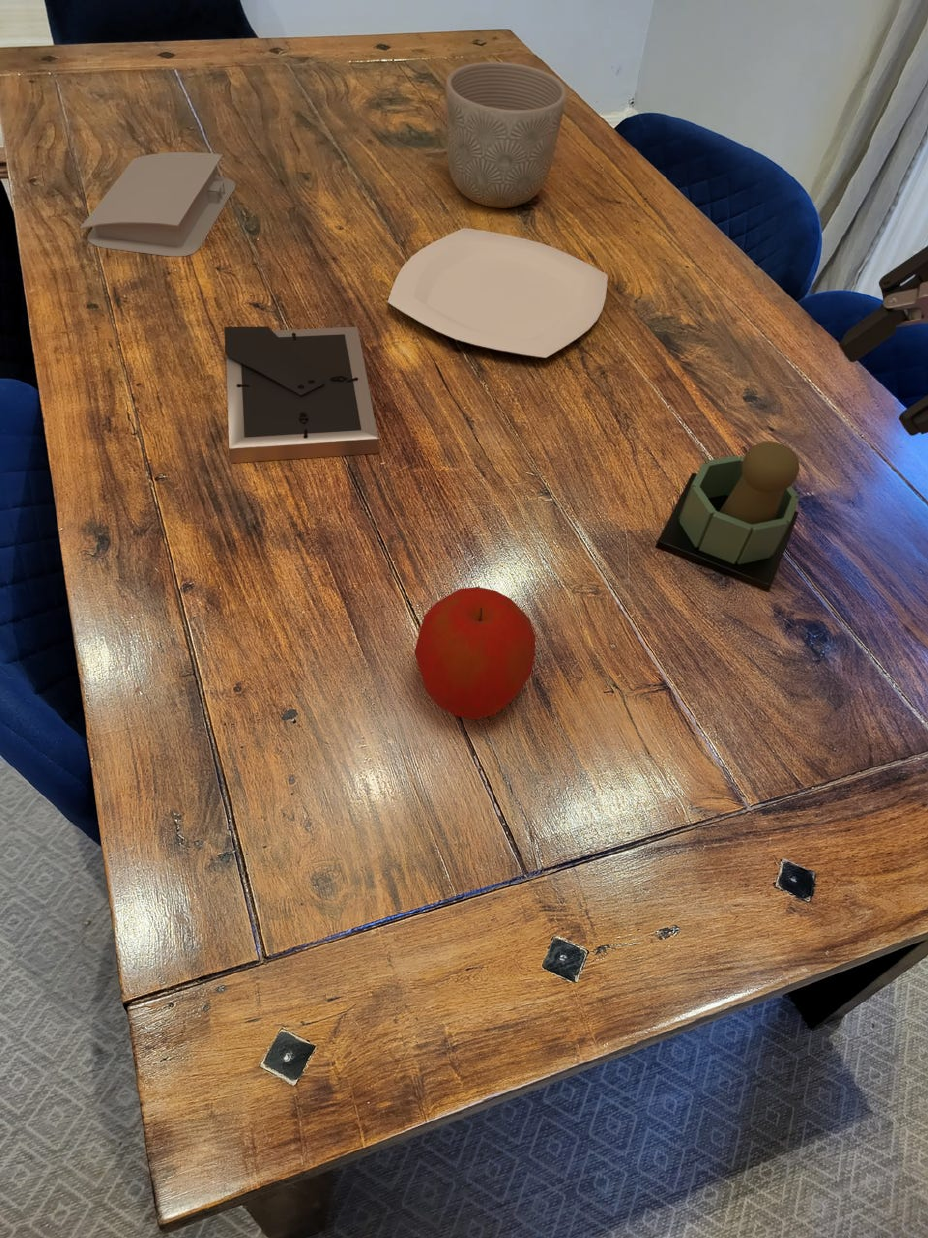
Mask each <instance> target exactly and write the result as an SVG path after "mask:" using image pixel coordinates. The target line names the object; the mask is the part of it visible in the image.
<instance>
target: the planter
mask: <svg viewBox="0 0 928 1238" xmlns="http://www.w3.org/2000/svg"><path fill="white" fill-rule="evenodd" d="M445 85H446V86H445V90H446V91H445V92H446V93H445V95H446V98H445V99H446V100H445V101H446V102H445V103H446V104H445V105H446V157H447V165H448V170H449V173H450V176H451V178H452V181H453V183H454V185H455V187H456V188H457V189H458V191H460V193H461V194H462V195H463V196H464V197H466V198H467V199H469V200H471V201H472V202H473V203H476V204H479V205H481V206H484V207H489V208H496V209H506V208H513V207H518V206H521V205H524V204H526V203H527V202H529V201H530V200H532V199H534V197H536V195H538V194H539V192H541V190H542V188H543V187H544V186H545V184H546V182H547V179H548V177H549V175H550V172H551V169H552V164H553V161H554V156H555V151H556V148H557V147H556V146H557V144H558V143H557V142H558V137H559V132H560V128H561V124H562V119H563V116H564V111H565V106H566V101H567V95H568V93H567V89H566V86H565V85H564V83H563V82H562V81H561V80H560V79H559V78H557V77H556V76H554V75H553V74H551V73H549V72H547V71H545V70H543V69H540V68H537V67H534V66H530V65H527V64H522V63H517V62H508V61H480V62H473V63H469V64H465V65H462V66H460V67H458V68H456V69H454V70H453V71H451V72H450V73H449V74H448V76H447V78H446V81H445Z"/></svg>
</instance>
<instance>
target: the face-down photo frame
mask: <svg viewBox="0 0 928 1238" xmlns="http://www.w3.org/2000/svg"><path fill="white" fill-rule="evenodd" d="M224 353H225V363H226V364H225V365H226V366H225V368H226V369H225V370H226V396H227V397H226V398H227V427H228V428H227V429H228V450H229V456H230V461H231V464H242V463H255V462H257V463H259V462H273V461H286V460H300V459H301V460H303V459H314V458H315V459H317V458H331V457H332V458H333V457H344V456H345V457H346V456H361V455H373V454H380V443H379V442H380V438H379V433H378V428H377V421H376V417H375V411H374V406H373V403H372V402H373V401H372V396H371V390H370V385H369V379H368V375H367V368H366V364H365V358H364V353H363V348H362V343H361V337H360V332H359V326H342V327H341V326H340V327H339V326H338V327H318V328H315V327H314V328H299V329H298V328H296V329H295V328H294V329H292V328H291V329H274V330H273V329H271V328H270V327H269V326H267V325H265V326H263V325H259V326H258V325H257V326H255V325H254V326H224Z"/></svg>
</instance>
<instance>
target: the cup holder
mask: <svg viewBox="0 0 928 1238" xmlns="http://www.w3.org/2000/svg"><path fill="white" fill-rule="evenodd" d="M744 458H745V456H743V455H740V457H739V456H738V455H737V454H736V455H731V456H730V455H729V456H723V457H720V458H719V457H718V458H714V459H707V460H705V461H704V462H702V463H701V465H700V467H699V469H698V471H697V472H692V473H691V474H690V476H689V479H688V480H687V482H686V485H685V486H684V488H683V490H682V491H681V492H682V493H681V494H680V497H679V498H678V500H677V502H676V505H675V506H674V508H673V510H672V512H671V514H670V516H669V518H668V520H667V522H666V524H665V526H664V528H663V529H662V532H661V534H660V536H659V537H658V539H657V542H656V545H655V548H657V549H660V550H662V551H664V552H667V553H670V554H672V555H675V556H677V557H680V558H682V559H684V560H686V561H690V562H692V563H694V564H697V565H700V566H702V567H704V568H707V569H709V570H712V571H715V572H717V573H719V574H722V575H725V576H727V577H729V578H732V579H734V580H737V581H740V582H742V583H744V584H747V585H750V586H752V587H754V588H757V589H759V590H762V591H764V592H766V593H767V592H769V591H770V590H771V588H772V586H773V582H774V580H775V578H776V575H777V573H778V569H779V567H780V564H781V562H782V559H783V556H784V554H785V551H786V548H787V545H788V543H789V539H791V538H790V537H791V535H792V532H793V530H794V526H795V524H796V521H797V519H798V516H799V514H800V512H799V511H797V510H796V508H797V506H798V504H799V502H800V498H799V494H798V493H797V491H796V490H795V489H794V488H793V486H792V485H791V486H789V487H788V488H787V489H785V490H784V492H783V495H782V499H781V502H780V505H779V509H778V512H777V515H776V519H775V520H772V521H767V522H763V523H758V524H753V525H751V524H749V523H746V522H743V521H741V520H738V519H736V518H733V517H730V516H728V515H725V514H723V513H720V512H719V511H720V509H721V508H722V506H723V505H724V503H725V502H726V500H727V499H728V497H729V495H730V494H731V492H732V491H733V489H734V488H735V486H736V484H737V483H738V481H739V480H740V478H741V477H742V475H743V473H742V463H743V460H744Z"/></svg>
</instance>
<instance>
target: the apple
mask: <svg viewBox="0 0 928 1238" xmlns="http://www.w3.org/2000/svg"><path fill="white" fill-rule="evenodd" d="M414 648H415V649H414V651H413V653H414V656H415V659H416V663H417V667H418V669H419V673H420V677H421V680H422V683H423V687H424V689H425V692H426V694H427V695H428V696H429V697H430V698H431V699H432V701H433V702H434V703H435V704H436V705H437V707H439V708H440V709H442V710H444V711H446V712H447V713H449V714H451V715H452V716H454V717H458V718H464V719H469V720H473V721H475V720H478V719H482V718H486V717H490V716H494V715H496V714H497V713H499V712H500V711H501V710H503V709H504V708H506V707H507V706H508V705H509V704H511V702H512V701H513V700H514V699H515V697H516V696H517V695H518V694H519V693H520V691H521V690H522V688H523V687H524V686H525V684H526V682H527V681H528V680H529V678H530V676H531V675H532V671H533V665H534V661H535V656H536V635H535V631H534V628H533V625H532V623H531V620H530V618H529V617H528V615H526V613H525V612H524V611H523V610H522V609H521V608H520V607H519V605H517V604H516V603H515V602H514V600H513V599H512V598H510V597H509V596H506V595H505V594H503V593H500V592H499V591H497V590H494V589H489V588H484V587H479V586H475V587H465V588H464V587H463V588H459V589H458V590H455V591H454V592H452V593H449V595H447V596H445V597H443V598H442V599H440V600H438V601H436V602H435V604H433V606H432V607H431V608H430V609H429V610H428V611H427V612H426V613H425V614H424V615H423V618H422V622H421V625H420V629H419V632H418V636H417V640H416V645H415V647H414Z"/></svg>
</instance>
